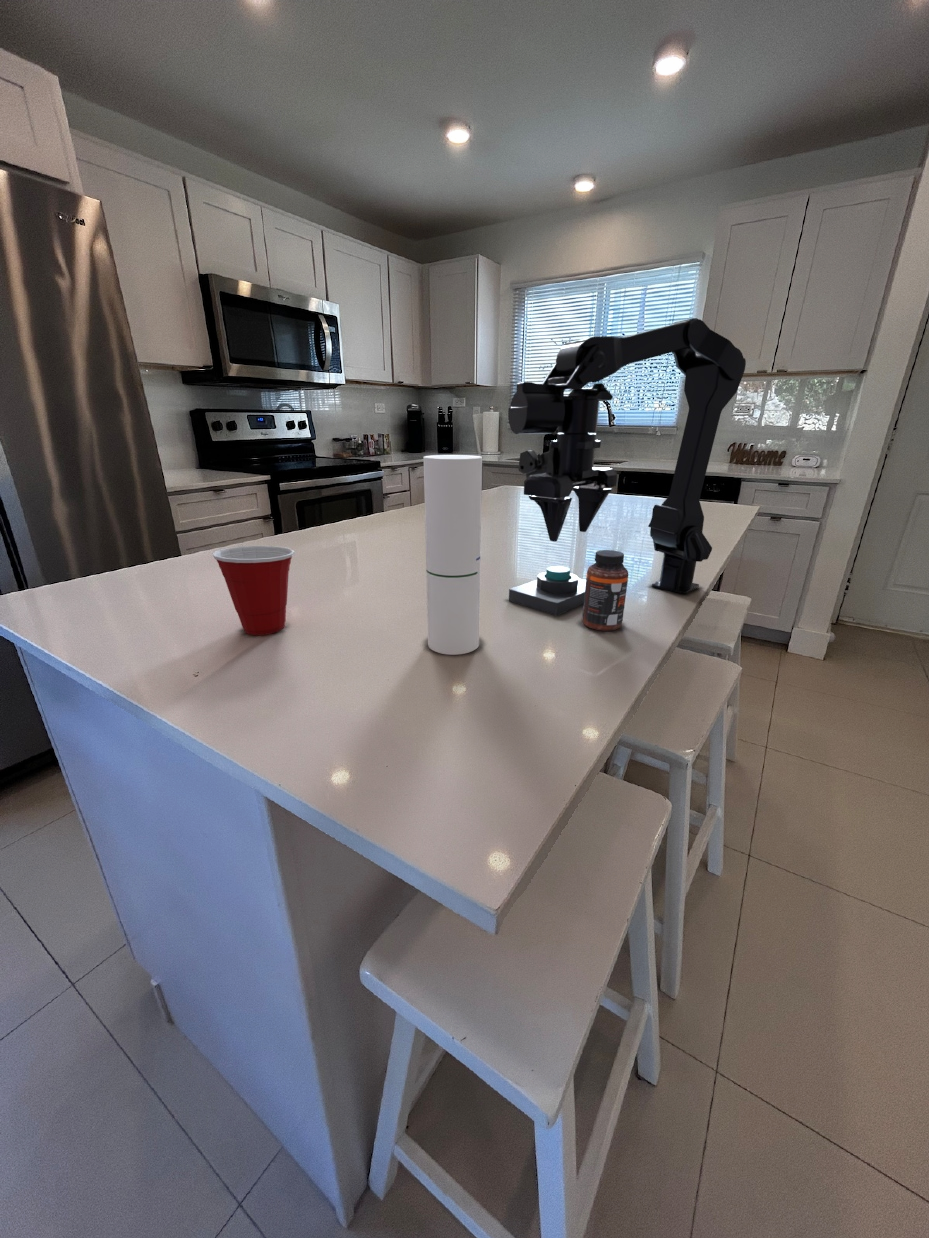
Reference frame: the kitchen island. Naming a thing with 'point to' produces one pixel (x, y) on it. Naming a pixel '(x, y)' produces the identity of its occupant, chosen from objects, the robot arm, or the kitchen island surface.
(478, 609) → the cylindrical container
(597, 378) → the robot arm
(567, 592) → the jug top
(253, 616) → the plastic cup
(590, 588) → the supplement bottle
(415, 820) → the kitchen island surface
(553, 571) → the lid button
